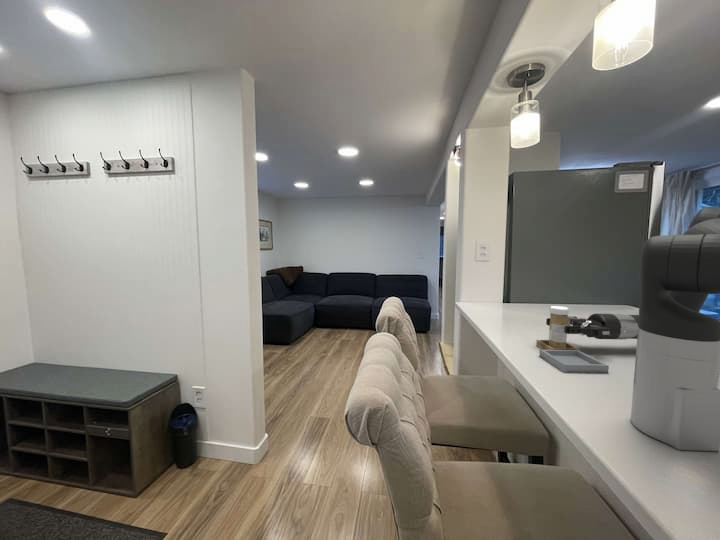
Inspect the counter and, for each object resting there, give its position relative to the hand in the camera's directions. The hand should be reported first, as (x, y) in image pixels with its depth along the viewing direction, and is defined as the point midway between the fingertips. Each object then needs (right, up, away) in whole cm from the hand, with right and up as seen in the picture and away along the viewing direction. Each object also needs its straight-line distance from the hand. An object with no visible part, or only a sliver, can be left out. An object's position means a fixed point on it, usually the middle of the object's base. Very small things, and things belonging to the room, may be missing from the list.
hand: (555, 325), depth 85 cm
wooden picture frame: (+1, -8, +1) cm, 8 cm away
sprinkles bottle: (+1, -8, +1) cm, 8 cm away
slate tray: (-2, -9, -9) cm, 13 cm away
